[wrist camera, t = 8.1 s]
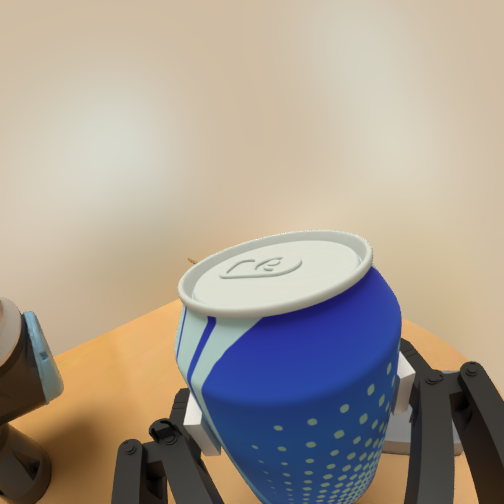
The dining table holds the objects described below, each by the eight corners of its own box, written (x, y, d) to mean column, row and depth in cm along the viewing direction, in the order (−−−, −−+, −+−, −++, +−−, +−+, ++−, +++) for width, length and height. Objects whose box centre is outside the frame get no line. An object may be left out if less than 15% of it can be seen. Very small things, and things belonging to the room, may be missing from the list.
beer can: (326, 413, 19) (299, 218, 14) (398, 470, 11) (447, 237, 7) (235, 463, 16) (142, 271, 11) (292, 543, 8) (178, 390, 4)
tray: (368, 450, 22) (370, 438, 21) (389, 383, 31) (391, 368, 30) (459, 455, 16) (468, 442, 15) (463, 385, 24) (469, 370, 23)
